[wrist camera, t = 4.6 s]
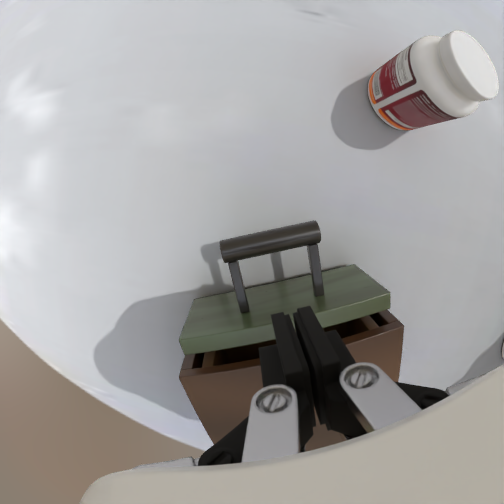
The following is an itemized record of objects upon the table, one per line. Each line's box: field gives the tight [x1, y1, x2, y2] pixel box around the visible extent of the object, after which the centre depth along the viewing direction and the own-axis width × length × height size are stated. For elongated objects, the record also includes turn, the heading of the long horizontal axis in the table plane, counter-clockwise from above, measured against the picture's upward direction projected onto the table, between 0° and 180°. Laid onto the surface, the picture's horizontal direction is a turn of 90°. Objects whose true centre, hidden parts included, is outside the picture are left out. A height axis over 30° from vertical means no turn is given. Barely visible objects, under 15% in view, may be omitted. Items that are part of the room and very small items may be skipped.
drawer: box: [179, 221, 390, 368], centre depth 20 cm, size 18×13×6 cm
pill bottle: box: [368, 30, 499, 130], centre depth 14 cm, size 6×6×11 cm
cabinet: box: [179, 310, 404, 452], centre depth 21 cm, size 15×15×8 cm
